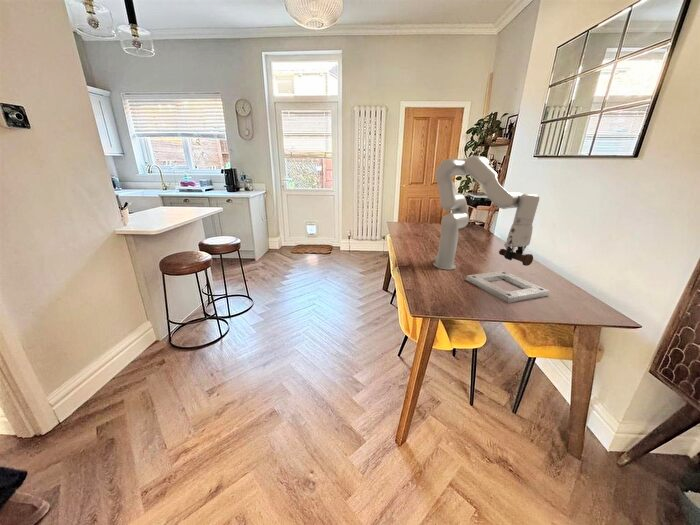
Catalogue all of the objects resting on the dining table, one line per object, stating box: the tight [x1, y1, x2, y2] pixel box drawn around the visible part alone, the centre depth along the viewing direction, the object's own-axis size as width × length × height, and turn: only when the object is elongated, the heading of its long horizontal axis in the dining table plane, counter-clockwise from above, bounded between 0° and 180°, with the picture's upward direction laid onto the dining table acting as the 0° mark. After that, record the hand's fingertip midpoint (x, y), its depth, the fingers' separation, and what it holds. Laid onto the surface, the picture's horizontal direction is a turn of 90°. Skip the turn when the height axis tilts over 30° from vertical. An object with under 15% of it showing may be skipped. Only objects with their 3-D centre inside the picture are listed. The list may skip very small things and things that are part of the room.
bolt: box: [498, 248, 534, 266], centre depth 130 cm, size 6×5×15 cm
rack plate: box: [465, 270, 551, 304], centre depth 135 cm, size 26×26×3 cm
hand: (513, 258), depth 131 cm, fingers closed on bolt, 5 cm apart
